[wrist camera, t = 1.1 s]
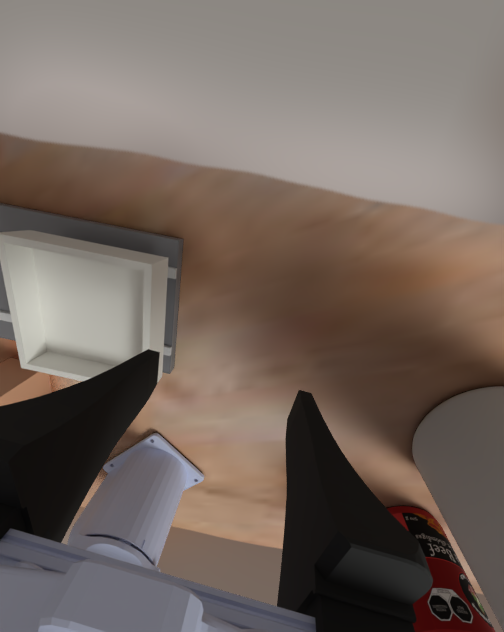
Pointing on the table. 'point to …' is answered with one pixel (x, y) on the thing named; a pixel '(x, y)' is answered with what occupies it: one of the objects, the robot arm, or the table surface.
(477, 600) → the canned food
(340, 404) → the table surface
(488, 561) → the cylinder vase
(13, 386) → the block
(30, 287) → the white shallow tray
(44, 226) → the track
